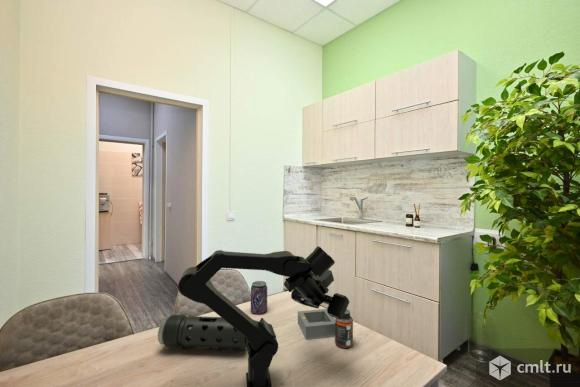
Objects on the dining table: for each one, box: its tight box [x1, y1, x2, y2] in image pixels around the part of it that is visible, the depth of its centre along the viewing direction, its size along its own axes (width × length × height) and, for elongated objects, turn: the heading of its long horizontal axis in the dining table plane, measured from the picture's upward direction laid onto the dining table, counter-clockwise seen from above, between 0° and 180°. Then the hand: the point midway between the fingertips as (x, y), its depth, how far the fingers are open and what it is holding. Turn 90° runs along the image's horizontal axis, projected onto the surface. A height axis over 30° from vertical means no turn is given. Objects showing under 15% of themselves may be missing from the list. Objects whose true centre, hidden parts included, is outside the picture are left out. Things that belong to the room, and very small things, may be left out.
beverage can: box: [250, 280, 268, 315], centre depth 114 cm, size 7×7×12 cm
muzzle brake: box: [157, 314, 248, 351], centre depth 88 cm, size 10×28×10 cm, turn 87°
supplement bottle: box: [334, 308, 354, 349], centre depth 90 cm, size 6×6×11 cm
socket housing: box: [297, 308, 335, 340], centre depth 100 cm, size 12×12×5 cm
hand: (329, 311), depth 85 cm, fingers open, 9 cm apart
